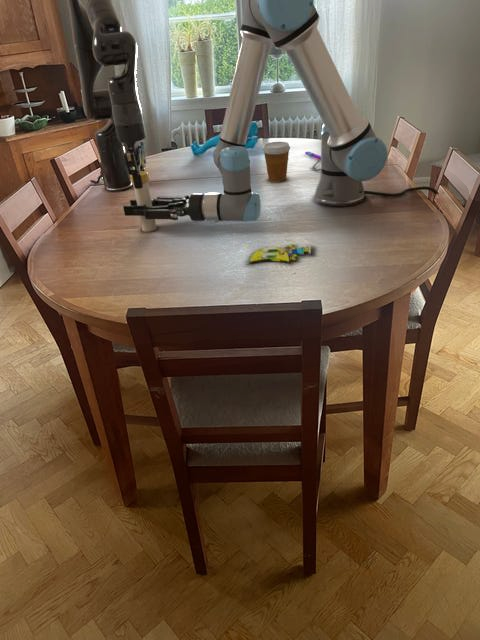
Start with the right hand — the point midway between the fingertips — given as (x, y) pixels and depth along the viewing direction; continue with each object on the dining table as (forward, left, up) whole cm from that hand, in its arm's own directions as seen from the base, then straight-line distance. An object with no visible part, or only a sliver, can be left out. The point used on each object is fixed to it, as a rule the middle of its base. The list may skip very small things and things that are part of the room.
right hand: (128, 207), depth 139 cm
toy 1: (-44, -72, -7) cm, 84 cm away
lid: (-5, +2, +9) cm, 11 cm away
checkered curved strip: (-75, -37, -7) cm, 84 cm away
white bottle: (-5, +2, -7) cm, 8 cm away
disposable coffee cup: (-53, -26, -7) cm, 59 cm away
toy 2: (-35, +34, -7) cm, 50 cm away
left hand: (-5, +2, +7) cm, 8 cm away
